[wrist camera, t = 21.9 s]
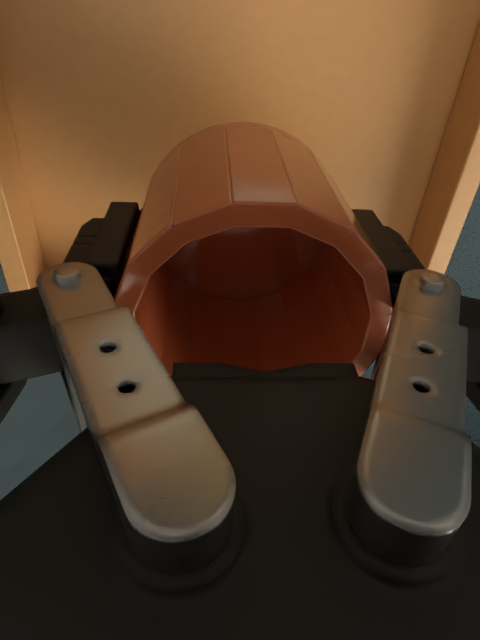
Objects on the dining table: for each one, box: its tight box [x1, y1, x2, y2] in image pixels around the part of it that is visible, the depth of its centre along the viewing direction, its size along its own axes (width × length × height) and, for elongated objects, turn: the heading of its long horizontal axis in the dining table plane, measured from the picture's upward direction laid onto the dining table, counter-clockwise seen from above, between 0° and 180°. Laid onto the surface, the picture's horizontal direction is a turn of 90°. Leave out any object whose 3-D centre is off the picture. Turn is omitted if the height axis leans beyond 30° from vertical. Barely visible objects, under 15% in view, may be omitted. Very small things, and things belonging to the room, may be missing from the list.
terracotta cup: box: [114, 122, 393, 377], centre depth 12 cm, size 6×6×6 cm
